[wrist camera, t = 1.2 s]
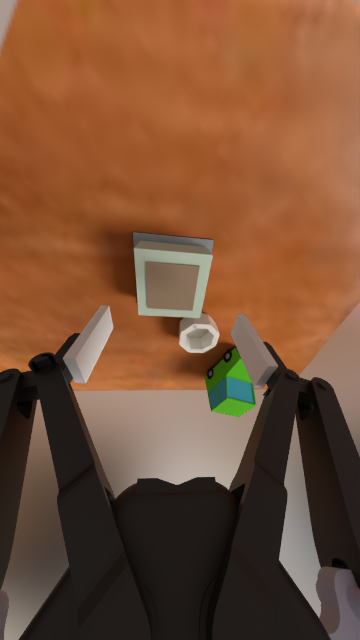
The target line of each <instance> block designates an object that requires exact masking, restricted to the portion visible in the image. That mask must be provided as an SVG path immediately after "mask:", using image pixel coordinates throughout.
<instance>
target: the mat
mask: <svg viewBox="0 0 360 640" xmlns="http://www.w3.org/2000/svg"><path fill="white" fill-rule="evenodd" d="M139 241H150V242H160V243H171V244H182V245H193V246H204V247H207V248H208V250H209V251H210V252H212V247H213V242H214V240H210V239H200V238H189V237H179V236H169V235H158V234H148V233H137V232H133V242H134V247H135V246H136V245H137V244H138V243H139Z"/></svg>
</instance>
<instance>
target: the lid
mask: <svg viewBox="0 0 360 640" xmlns="http://www.w3.org/2000/svg"><path fill="white" fill-rule="evenodd" d="M212 257H213V255H212V253H211V252H210V251H209V250H208V248H207V247H204V246H193V245H182V244H171V243H160V242H150V241H139V243H138V244H137V245H136V246H135V247H134V259H135V272H136V286H137V299H138V313H139V315H149V316H169V317H188V318H200V316H201V311H202V306H203V301H204V296H205V291H206V286H207V281H208V276H209V271H210V267H211V262H212Z"/></svg>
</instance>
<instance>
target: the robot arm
mask: <svg viewBox="0 0 360 640" xmlns="http://www.w3.org/2000/svg"><path fill="white" fill-rule="evenodd" d="M112 330H113V323H112V318H111V313H110V308H109V306H102V305H101V306H100V308H99V309H98V310H97V312H96V313H95V314H94V316H93V317H92V319H91V320H90V321H89V323H88V324H87V325H86V327H85V328H84V330H83V331H82V332H81V333H74V334H73V335H72V336H70V337H69V338H68V339H67V340H66V342H65V343H64V344H63V345H62V347H61V348H60V349H59V350H58V352H57V353H56V354H55V355H54V354H53V353H50V352H48V353H42V354H39V355H37V356H35V357H34V358H32V359H31V360H30V362H29V364H28V366H29V367H30V369H31V370H32V371H27V372H22V373H21V372H20V371H19V370H18V369H14V368H13V369H8V370H5V371H2V372H1V373H0V640H4V628H5V623H6V617H7V612H8V608H9V605H8V604H9V600H8V599H9V598H8V596H7V593H6V592H5V591H4V590H2V589H1V587H2V584H3V581H4V577H5V574H6V570H7V567H8V563H9V560H10V555H11V550H12V545H13V540H14V535H15V528H16V523H17V517H18V510H19V505H20V498H21V493H22V487H23V481H24V475H25V469H26V463H27V456H28V451H29V445H30V439H31V433H32V427H33V422H34V415H35V410H36V404H37V400H39V399H40V403H41V407H42V412H43V417H44V421H45V426H46V431H47V436H48V440H49V445H50V449H51V454H52V459H53V463H54V468H55V473H56V478H57V482H58V488H59V494H58V496H57V504H58V511H59V516H60V521H61V526H62V531H63V536H64V541H65V546H66V551H67V556H68V561H69V567H68V568H67V570H66V571H65V573H64V574H63V576H62V577H61V579H60V580H59V582H58V583H57V585H56V586H55V587H54V589H53V591H52V592H51V593H50V595H49V596H48V598H47V599H46V601H45V602H44V603H43V605H42V606H41V608H40V609H39V611H38V612H37V614H36V615H35V617H34V618H33V619H32V621H31V622H30V624H29V625H28V627H27V628H26V630H25V631H24V633H23V634H22V635H21V637H20V638H19V640H360V457H359V455H358V452H357V449H356V447H355V444H354V441H353V439H352V437H351V434H350V431H349V429H348V426H347V423H346V420H345V418H344V415H343V413H342V410H341V407H340V405H339V402H338V400H337V397H336V394H335V392H334V389H333V388H332V386H331V385H330V384H329V383H328V382H326V381H325V380H323V379H321V378H317V377H314V378H313V379H312V380H311V381H310V380H306V379H303V378H300V377H299V376H298V375H297V374H296V373H295V372H294V371H292V370H290V369H287V368H286V366H285V365H284V363H283V362H282V361H281V359H280V358H279V356H278V355H277V353H276V352H275V350H274V349H273V348H272V346H271V345H270V344H268V343H267V342H262V340H261V338H260V337H259V335H258V334H257V332H256V331H255V329H254V328H253V326H252V325H251V323H250V321H249V320H248V318H247V317H246V315H245V314H238V315H237V317H236V320H235V323H234V326H233V328H232V331H231V336H232V338H233V340H234V343H235V345H236V347H237V350H238V352H239V354H240V356H241V359H242V361H243V363H244V366H245V368H246V370H247V372H248V375H249V377H250V379H251V381H252V384H253V386H254V387H259V388H263V387H264V386H265V384H267V386H268V389H267V390H266V392H265V393H264V394H263V395H264V399H263V402H262V405H261V407H260V410H259V413H258V416H257V419H256V421H255V424H254V427H253V430H252V433H251V435H250V438H249V441H248V444H247V446H246V449H245V452H244V455H243V458H242V460H241V463H240V466H239V468H238V471H237V473H236V475H235V477H234V479H233V481H232V483H231V485H230V488H229V490H228V489H227V488H226V487H224V486H223V485H221V484H220V483H218V482H216V481H215V477H197V478H194V479H191V480H189V481H187V482H184V483H182V484H180V485H175V484H172V483H169V482H166V481H163V480H160V479H158V478H146V479H138V481H137V483H136V484H133V485H132V486H130V487H128V488H127V489H125V490H124V491H123V492H122V493H121V494H120V495H119V496H118V497H117V498H116V499H115V496H114V494H113V491H112V489H111V486H110V484H109V482H108V480H107V477H106V475H105V473H104V470H103V467H102V465H101V463H100V460H99V457H98V454H97V452H96V449H95V447H94V444H93V441H92V439H91V436H90V434H89V431H88V428H87V426H86V423H85V421H84V418H83V415H82V413H81V410H80V408H79V405H78V402H77V400H76V397H75V394H74V392H73V389H72V387H71V384H70V382H71V381H72V379H73V380H74V382H75V383H86V382H87V380H88V378H89V376H90V374H91V372H92V370H93V368H94V366H95V364H96V362H97V360H98V358H99V356H100V354H101V352H102V350H103V348H104V346H105V344H106V342H107V340H108V338H109V336H110V334H111V332H112ZM295 414H296V421H297V428H298V435H299V442H300V449H301V456H302V463H303V470H304V476H305V484H306V491H307V498H308V505H309V512H310V518H311V525H312V531H313V537H314V542H315V546H316V550H317V554H318V558H319V562H320V566H321V569H320V570H319V573H318V580H317V582H316V591H317V594H318V597H319V599H320V601H321V615H320V618H318V616H317V615H316V613H315V612H314V610H313V609H312V607H311V606H310V604H309V603H308V601H307V600H306V599H305V597H304V596H303V594H302V593H301V591H300V590H299V589H298V587H297V586H296V584H295V583H294V581H293V580H292V578H291V577H290V575H289V574H288V572H287V571H286V570H285V568H284V567H283V565H282V564H281V562H280V561H279V554H280V547H281V540H282V533H283V526H284V519H285V511H286V505H287V490H286V488H285V487H284V479H285V473H286V466H287V460H288V454H289V449H290V443H291V436H292V431H293V425H294V419H295Z"/></svg>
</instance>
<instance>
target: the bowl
mask: <svg viewBox="0 0 360 640" xmlns="http://www.w3.org/2000/svg"><path fill="white" fill-rule="evenodd" d="M218 338H219V331H218V329H217V326H216V323H215V322H214V321H213V320H212V318H211V317H210V316H209V315H208V314H205V313H202V312H201V316H200V318H188V317H184V318H183V319H182V320H181V321H180V324H179V345H180V346H182V347H183V348H184V349H185V350H186V351H188V352H191V353H204V352H206V351H208V350H209V349H211V348H213V347H215V346H216V344H217V341H218Z"/></svg>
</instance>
